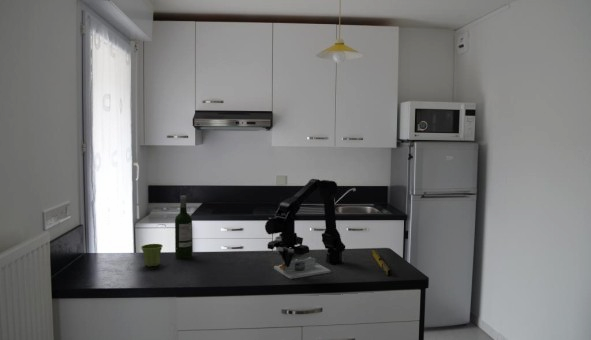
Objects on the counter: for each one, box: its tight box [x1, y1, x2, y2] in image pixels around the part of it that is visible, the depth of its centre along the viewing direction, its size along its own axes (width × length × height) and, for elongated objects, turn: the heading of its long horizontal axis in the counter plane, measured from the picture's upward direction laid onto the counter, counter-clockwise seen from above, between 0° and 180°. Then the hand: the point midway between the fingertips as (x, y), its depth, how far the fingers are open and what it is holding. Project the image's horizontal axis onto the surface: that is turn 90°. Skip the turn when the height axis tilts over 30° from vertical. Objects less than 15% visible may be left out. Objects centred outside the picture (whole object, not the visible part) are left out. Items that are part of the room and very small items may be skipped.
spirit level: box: [371, 249, 392, 277], centre depth 199 cm, size 33×1×3 cm, turn 1°
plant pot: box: [140, 243, 163, 267], centre depth 194 cm, size 9×9×9 cm
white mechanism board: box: [273, 256, 331, 280], centre depth 189 cm, size 20×16×4 cm
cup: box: [274, 236, 291, 255], centre depth 215 cm, size 11×8×8 cm
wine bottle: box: [174, 195, 193, 260], centre depth 207 cm, size 8×8×30 cm
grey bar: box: [279, 257, 316, 271], centre depth 186 cm, size 5×18×4 cm, turn 119°
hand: (288, 267), depth 182 cm, fingers closed
